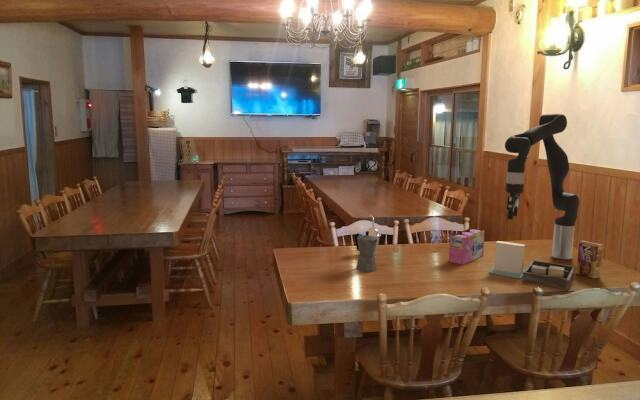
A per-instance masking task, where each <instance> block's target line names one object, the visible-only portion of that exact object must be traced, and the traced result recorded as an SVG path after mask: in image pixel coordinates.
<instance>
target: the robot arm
mask: <svg viewBox="0 0 640 400" xmlns="http://www.w3.org/2000/svg"><path fill="white" fill-rule="evenodd" d="M567 125H568V119H567V116H565V114H563V113H547V114H546V113H545V114H542V115H540V117H539V121H538V125H537V126H534V127H531V128H529V129H527V130H526V131H524V132H522V133H518V134H514V135H512V136H511V135H510V137H508V138H507V139H506V141H505V143H504V149H505V150H506V151H507V152H508V153H511V154H517V156H516V157H514V158H510V159H508V161H507V172H506V177H505V178H506V179H505V193H507V194H509V196H507V200H506V211H507V220H513V219H514V217H517V216H518V209H519V207H520V199H521V194H524V191H525V190H524V187H525V169H526V162H527V159H528V156H529V153H530V150H531V148H532V147H533V146H534V145H536V144H538V143H539V142H540V141H542V142H543V146H544V149H545V156H546V162H547V169H548V173H549V178H550V183H551V184H550V186H551V198H552V199H551V200H552V204H553V207H554V209H555V210H558V211H563V212H564V215H562V216H558V217H555V219H554V224H553V225H554V226H553V228H554V229H553V238H552V239H553V240H552V249H551V257H552V258H554V259H558V260H571V259H572V256H573V247H574V238H575V237H574V236H575V228H576V221H577V218H578V213H579V208H580V207H579V206H580V200H579V196H578V195H577V194H575V193H569V192H565V190H564V181H565V179H566V178H567V176H568V174H569V171H570V164H569V158H568V155H567V153H566V152H565V151H564V149H563V148H562V146H560V144H558V142H557V141H556V139H555V137H554V135H557V134H561V133H563V132H564V131H565V130H566V128H567Z"/></svg>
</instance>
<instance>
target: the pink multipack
mask: <svg viewBox="0 0 640 400" xmlns="http://www.w3.org/2000/svg"><path fill="white" fill-rule="evenodd" d="M449 238H450V239H449V253H448V254H449V255H448V262H449V263H453V264H458V265H465V264H468V263H470V262H472V261H475V260H477V259H479V258H481V257H483V256H484V250H485V230H484V229H483V230H479V229H475V228H474V227H470V228H466V229H465V230H462V231H459V232H457V233H453V234H451V235H450V237H449Z"/></svg>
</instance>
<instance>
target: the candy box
mask: <svg viewBox="0 0 640 400" xmlns="http://www.w3.org/2000/svg"><path fill="white" fill-rule="evenodd" d="M603 248H604V244H602V243H597V242H596V243H595V242H591V241H587V240H580V241H579V242H578V249H577V251H578V253H577V260H576V261H577V262H576V269H575V271H576V272H575V273H576V274H577V275H581V276H584V277H586V278H587V277H588V278H590V279H599V278H600V277H601V276H600V274H601V266H602V258H603V250H604V249H603Z"/></svg>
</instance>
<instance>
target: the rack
mask: <svg viewBox="0 0 640 400" xmlns="http://www.w3.org/2000/svg"><path fill="white" fill-rule="evenodd" d="M533 265H535V266H542V267H547V274H546V275H541V274H535V273H531V269H532V266H533ZM550 266H556V267H563V268H564V278H558V277H552V276H548V272H549V267H550ZM574 276H575V268H573V266H572V265H568V264H562V263H561V264H560V263H554V262H549V261H541V260H535V259H533V261H531V262H530V263H529V264H528V266H527V267H526V268H525V270H524V272H523V277H522V279H521V280H522V282H525V283H532V284H537V285H538V284H539V285H543V286H548V287H554V288H560V289H565V290H569V288H570V286H571V285H572V282H573V279H574Z"/></svg>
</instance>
